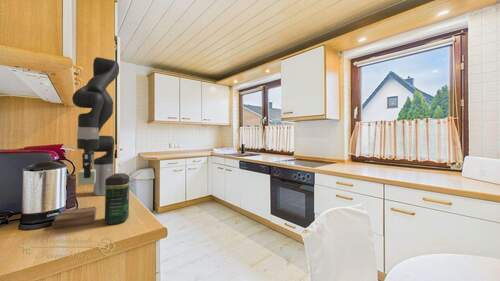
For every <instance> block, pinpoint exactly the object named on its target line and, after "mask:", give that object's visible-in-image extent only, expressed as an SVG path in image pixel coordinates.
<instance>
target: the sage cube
mask: <svg viewBox="0 0 500 281" xmlns="http://www.w3.org/2000/svg"><path fill="white" fill-rule="evenodd" d="M77 176H78V177H77V178H78V181H77V183H78V184H77V186H90V185H94V184H95V181H96V169H94V168H92V169H91V177H90V178H84V169H80V170H79V171H78V174H77Z"/></svg>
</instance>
